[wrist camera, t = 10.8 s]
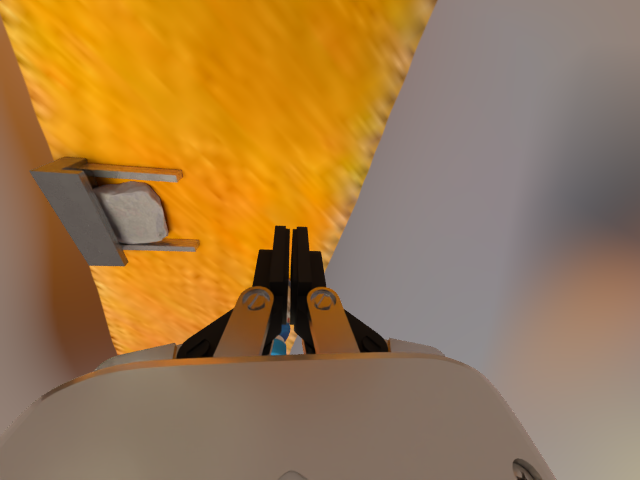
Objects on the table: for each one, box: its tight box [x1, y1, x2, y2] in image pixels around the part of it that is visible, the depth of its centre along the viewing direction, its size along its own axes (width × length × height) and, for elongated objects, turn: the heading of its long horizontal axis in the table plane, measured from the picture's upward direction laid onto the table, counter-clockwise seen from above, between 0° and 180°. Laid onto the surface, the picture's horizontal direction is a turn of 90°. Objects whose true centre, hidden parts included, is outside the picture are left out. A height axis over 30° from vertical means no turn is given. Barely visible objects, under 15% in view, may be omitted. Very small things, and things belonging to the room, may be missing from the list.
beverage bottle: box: [271, 280, 290, 355], centre depth 51 cm, size 8×8×20 cm
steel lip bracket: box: [30, 157, 199, 266], centre depth 42 cm, size 18×18×6 cm
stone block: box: [93, 181, 168, 244], centre depth 44 cm, size 12×5×10 cm
